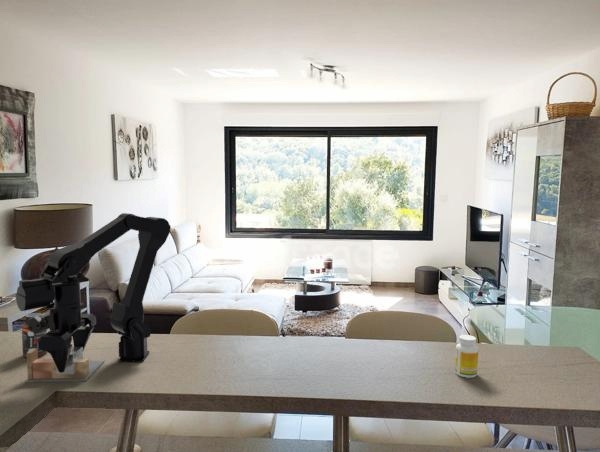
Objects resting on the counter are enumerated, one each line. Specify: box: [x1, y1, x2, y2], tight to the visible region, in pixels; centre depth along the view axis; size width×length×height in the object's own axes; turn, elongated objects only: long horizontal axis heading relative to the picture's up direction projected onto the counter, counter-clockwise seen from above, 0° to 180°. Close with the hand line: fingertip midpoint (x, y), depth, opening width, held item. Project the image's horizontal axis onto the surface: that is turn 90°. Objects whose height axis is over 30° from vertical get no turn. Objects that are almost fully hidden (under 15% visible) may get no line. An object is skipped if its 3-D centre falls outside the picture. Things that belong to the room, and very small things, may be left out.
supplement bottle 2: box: [454, 334, 479, 379], centre depth 116 cm, size 5×5×10 cm
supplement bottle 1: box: [21, 312, 48, 358], centre depth 127 cm, size 6×6×11 cm
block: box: [26, 349, 90, 380], centre depth 116 cm, size 14×10×6 cm
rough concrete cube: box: [56, 346, 84, 374], centre depth 112 cm, size 4×5×5 cm
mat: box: [26, 360, 105, 383], centre depth 116 cm, size 14×12×1 cm
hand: (70, 364), depth 113 cm, fingers open, 9 cm apart
